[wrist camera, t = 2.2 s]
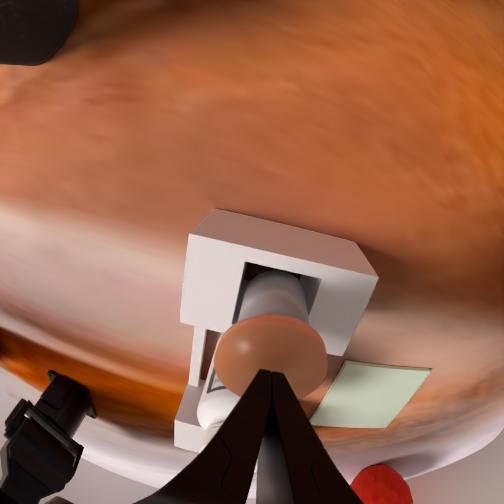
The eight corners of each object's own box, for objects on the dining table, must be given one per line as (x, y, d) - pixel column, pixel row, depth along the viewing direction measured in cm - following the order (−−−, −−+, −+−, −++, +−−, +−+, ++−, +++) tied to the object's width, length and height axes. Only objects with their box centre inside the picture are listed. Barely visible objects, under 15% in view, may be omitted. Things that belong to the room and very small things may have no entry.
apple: (327, 482, 31) (329, 548, 19) (357, 456, 27) (366, 536, 16) (382, 479, 31) (389, 539, 19) (416, 451, 27) (432, 520, 16)
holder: (275, 425, 25) (272, 466, 20) (187, 406, 25) (174, 446, 20) (354, 241, 17) (378, 277, 12) (213, 208, 17) (189, 233, 13)
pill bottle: (266, 380, 22) (257, 483, 13) (207, 356, 22) (174, 459, 13) (300, 337, 20) (306, 453, 11) (234, 308, 20) (203, 424, 11)
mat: (384, 425, 24) (385, 427, 24) (308, 421, 24) (308, 424, 24) (429, 368, 21) (430, 371, 20) (345, 360, 21) (346, 363, 20)
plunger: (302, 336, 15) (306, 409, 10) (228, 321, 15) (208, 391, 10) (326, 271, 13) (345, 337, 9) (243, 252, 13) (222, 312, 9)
